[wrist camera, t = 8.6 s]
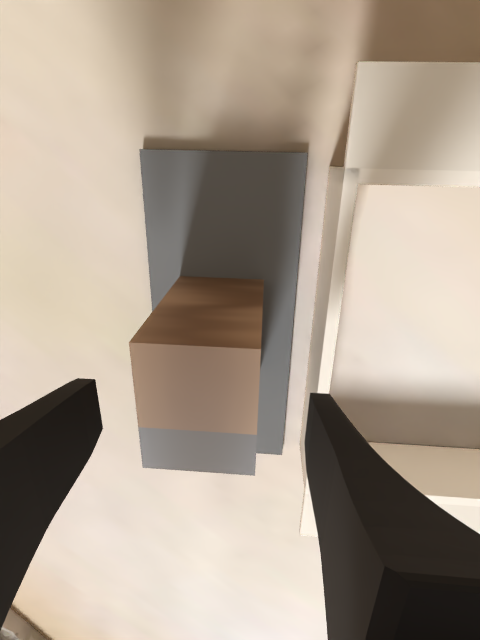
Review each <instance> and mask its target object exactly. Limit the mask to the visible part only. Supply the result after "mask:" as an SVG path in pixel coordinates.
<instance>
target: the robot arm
mask: <svg viewBox="0 0 480 640" xmlns="http://www.w3.org/2000/svg"><path fill="white" fill-rule="evenodd" d="M102 429H103V426H102V420H101V414H100V407H99V401H98V395H97V388H96V382H95V379H79V378H78V379H75V380H73V381H71V382H69V383H67V384H65V385H63V386H62V387H60V388H58V389H56V390H54V391H53V392H51V393H49V394H47V395H46V396H44V397H42V398H40V399H38V400H37V401H35V402H33V403H31V404H29V405H28V406H26V407H24V408H22V409H21V410H19V411H17V412H15V413H13V414H11V415H9V416H7V417H5V418H3V419H1V420H0V631H1V628H2V626H3V624H4V621H5V619H6V616H7V614H8V612H9V609H10V607H11V605H12V602H13V600H14V598H15V595H16V593H17V591H18V589H19V587H20V584H21V582H22V580H23V578H24V576H25V573H26V571H27V569H28V567H29V565H30V562H31V560H32V558H33V556H34V554H35V552H36V550H37V548H38V546H39V544H40V542H41V540H42V538H43V536H44V534H45V532H46V530H47V528H48V526H49V524H50V523H51V521H52V519H53V517H54V515H55V514H56V512H57V511H58V509H59V507H60V506H61V504H62V502H63V501H64V499H65V498H66V496H67V494H68V493H69V491H70V489H71V488H72V486H73V485H74V483H75V481H76V480H77V478H78V476H79V475H80V473H81V471H82V470H83V468H84V466H85V465H86V463H87V461H88V460H89V458H90V456H91V454H92V452H93V450H94V448H95V446H96V443H97V441H98V439H99V436H100V434H101V431H102ZM304 444H305V460H306V472H307V478H308V484H309V489H310V495H311V500H312V506H313V511H314V517H315V522H316V527H317V533H318V538H319V545H320V552H321V562H322V573H323V584H324V596H325V608H326V621H327V634H328V640H480V534H479V533H478V532H476V531H474V530H473V529H471V528H470V527H468V526H467V525H465V524H464V523H462V522H461V521H459V520H458V519H456V518H455V517H453V516H452V515H451V514H449V513H448V512H446V511H445V510H444V509H442V508H441V507H439V506H438V505H437V504H435V503H434V502H433V501H431V500H430V499H429V498H428V497H426V496H425V495H424V494H422V493H421V492H420V491H418V490H417V489H416V488H415V487H414V486H412V485H411V484H410V483H409V482H408V481H406V480H405V479H404V478H403V477H402V476H401V475H400V474H399V473H398V472H396V471H395V470H394V469H393V468H392V467H391V466H390V465H389V464H388V463H387V462H386V461H385V460H384V459H383V458H382V457H381V456H380V455H379V454H378V453H377V452H376V451H375V450H374V449H373V448H372V447H371V446H370V445H369V443H368V442H367V441H366V440H365V439H364V438H363V437H362V435H361V434H360V433H359V432H358V431H357V429H356V428H355V427H354V426H353V424H352V423H351V422H350V421H349V419H348V418H347V417H346V415H345V414H344V413H343V412H342V410H341V409H340V407H339V406H338V405H337V403H336V402H335V401H334V399H333V398H332V397H331V395H330V394H325V393H310V398H309V406H308V415H307V424H306V433H305V442H304Z"/></svg>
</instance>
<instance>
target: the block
mask: <svg viewBox="0 0 480 640" xmlns="http://www.w3.org/2000/svg"><path fill="white" fill-rule="evenodd" d="M263 289H264V280H263V279H238V278H213V277H189V276H180V277H179V278H178V279H177V280H176V282H175V283H174V284H173V286H172V287H171V288H170V290H169V291H168V292H167V293H166V295H165V296H164V297H163V299H162V300H161V301H160V303H159V304H158V305H157V307H156V308H155V309H154V310H153V312H152V313H151V314H150V316H149V317H148V318H147V320H146V321H145V322H144V324H143V325H142V326H141V327H140V329H139V330H138V331H137V333H136V334H135V335H134V337H133V338H132V339H131V341H130V342H129V347H130V356H131V365H132V374H133V383H134V392H135V401H136V410H137V419H138V428H139V437H140V446H141V455H142V464H143V468H156V469H170V470H184V471H198V472H212V473H226V474H240V475H254V476H255V463H256V442H257V422H258V401H259V380H260V360H261V337H262V313H263Z"/></svg>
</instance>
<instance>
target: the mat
mask: <svg viewBox="0 0 480 640" xmlns="http://www.w3.org/2000/svg"><path fill="white" fill-rule="evenodd" d="M307 154H308V153H296V152H248V151H201V150H153V149H140V161H141V174H142V186H143V199H144V211H145V224H146V237H147V249H148V262H149V274H150V287H151V299H152V312H153V310H154V309H155V308H156V307H157V305H158V304H159V303H160V301H161V300H162V299H163V297H164V296H165V295H166V293H167V292H168V291H169V290H170V288H171V287H172V286H173V284H174V283H175V282H176V280H177V279H178V278H179V277H180V276H189V277H213V278H238V279H263V280H264V289H263V313H262V337H261V360H260V380H259V401H258V422H257V442H256V453H262V454H277V455H282V449H283V437H284V425H285V414H286V402H287V390H288V378H289V366H290V355H291V343H292V331H293V319H294V307H295V296H296V284H297V272H298V260H299V248H300V237H301V225H302V213H303V201H304V190H305V178H306V166H307Z"/></svg>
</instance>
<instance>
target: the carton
mask: <svg viewBox="0 0 480 640" xmlns="http://www.w3.org/2000/svg"><path fill="white" fill-rule="evenodd" d="M358 184H367V185H406V186H445V187H480V62H372V61H358V62H357V63H356V69H355V77H354V85H353V93H352V101H351V110H350V118H349V126H348V134H347V143H346V151H345V159H344V167H334V166H329V175H328V185H327V194H326V203H325V212H324V222H323V231H322V240H321V250H320V259H319V268H318V277H317V287H316V296H315V305H314V315H313V324H312V333H311V342H310V352H309V361H308V370H307V380H306V389H305V398H304V407H303V417H302V426H301V435H300V453H301V463H302V472H303V481H304V496H303V504H302V512H301V521H300V529H299V532H300V535H302V536H315V537H318V533H317V527H316V522H315V517H314V511H313V506H312V500H311V495H310V489H309V484H308V478H307V472H306V460H305V444H304V442H305V433H306V424H307V415H308V406H309V398H310V393H325V394H329V390H330V383H331V376H332V368H333V361H334V354H335V347H336V339H337V332H338V325H339V318H340V311H341V303H342V296H343V289H344V282H345V274H346V267H347V260H348V253H349V246H350V238H351V231H352V224H353V217H354V209H355V202H356V195H357V188H358ZM368 443H369V445H370V446H371V447H372V448H373V449H374V450H375V451H376V452H377V453H378V454H379V455H380V456H381V457H382V458H383V459H384V460H385V461H386V462H387V463H388V464H389V465H390V466H391V467H392V468H393V469H394V470H395V471H396V472H398V473H399V474H400V475H401V476H402V477H403V478H404V479H405V480H406V481H408V482H409V483H410V484H411V485H412V486H414V487H415V488H416V489H417V490H418V491H420V492H421V493H422V494H424V495H425V496H426V497H428V498H429V499H430V500H431V501H433V502H434V503H435V504H437V505H438V506H439V507H441V508H442V509H444V510H445V511H446V512H448V513H449V514H451V515H452V516H453V517H455V518H456V519H458V520H459V521H461V522H462V523H464V524H465V525H467V526H468V527H470V528H471V529H473V530H474V531H476V532H478V533H479V534H480V449H468V448H452V447H437V446H421V445H406V444H391V443H375V442H368Z"/></svg>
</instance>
